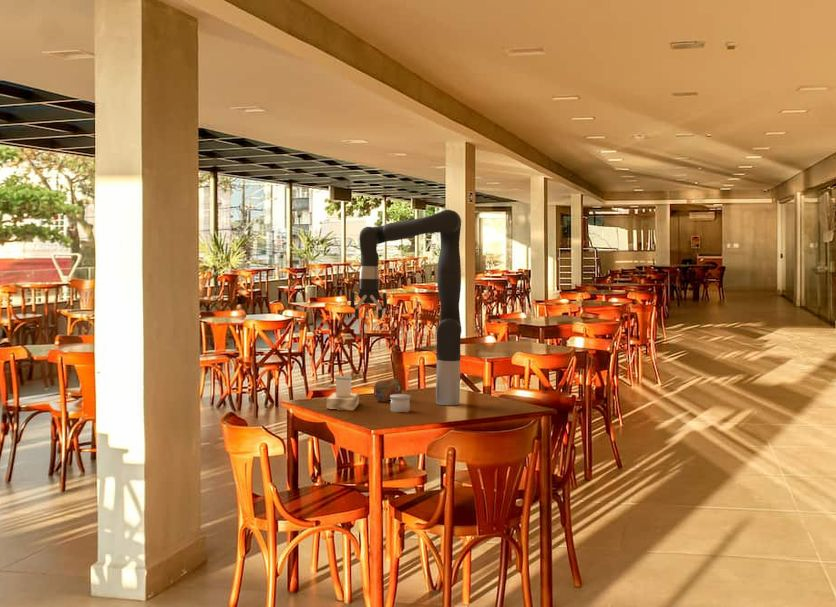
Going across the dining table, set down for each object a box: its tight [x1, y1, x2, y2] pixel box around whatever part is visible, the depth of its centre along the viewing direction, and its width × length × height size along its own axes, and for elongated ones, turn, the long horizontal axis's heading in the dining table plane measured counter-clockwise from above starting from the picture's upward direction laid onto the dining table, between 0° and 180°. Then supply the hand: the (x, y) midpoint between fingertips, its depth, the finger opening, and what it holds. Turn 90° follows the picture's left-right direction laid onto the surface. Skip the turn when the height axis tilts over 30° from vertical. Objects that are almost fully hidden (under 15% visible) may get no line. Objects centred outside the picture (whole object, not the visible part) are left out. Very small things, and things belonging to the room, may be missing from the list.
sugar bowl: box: [390, 393, 411, 413], centre depth 345 cm, size 8×8×6 cm
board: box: [326, 392, 360, 411], centre depth 353 cm, size 10×16×4 cm, turn 177°
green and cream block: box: [335, 375, 353, 397], centre depth 352 cm, size 5×5×7 cm
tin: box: [373, 378, 403, 403], centre depth 371 cm, size 15×3×8 cm, turn 143°
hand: (368, 318), depth 369 cm, fingers open, 8 cm apart
